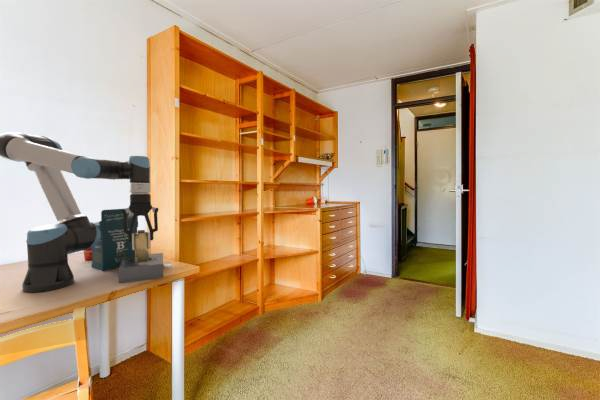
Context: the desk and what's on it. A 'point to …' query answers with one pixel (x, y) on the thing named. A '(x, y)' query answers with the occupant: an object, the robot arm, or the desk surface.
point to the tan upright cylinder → (141, 246)
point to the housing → (141, 268)
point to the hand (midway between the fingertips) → (141, 248)
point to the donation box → (112, 240)
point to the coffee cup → (88, 254)
